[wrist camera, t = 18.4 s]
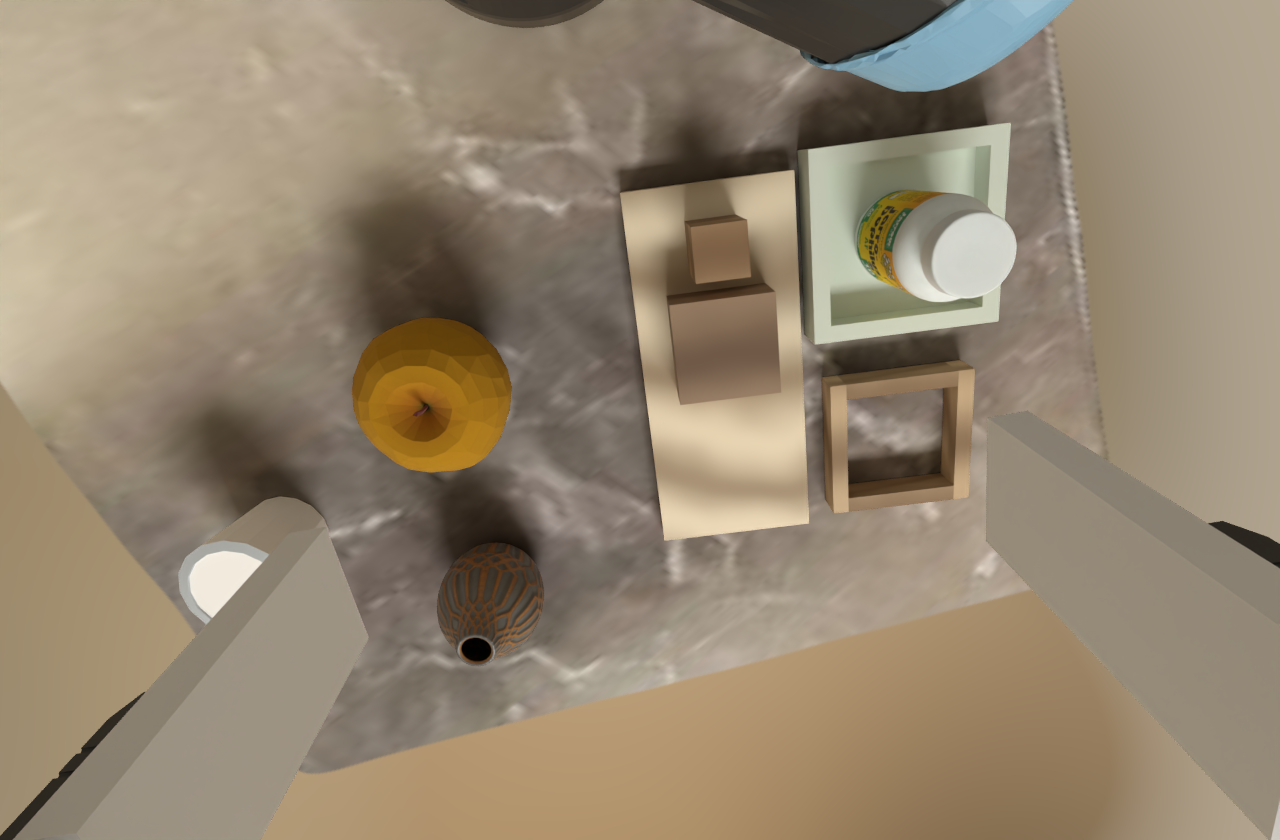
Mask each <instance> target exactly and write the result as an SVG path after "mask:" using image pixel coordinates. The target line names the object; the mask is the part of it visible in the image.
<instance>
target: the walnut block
mask: <svg viewBox="0 0 1280 840" xmlns="http://www.w3.org/2000/svg"><path fill="white" fill-rule="evenodd" d="M666 297H667V306H668V315H669V324H670V333H671V342H672V351H673V360H674V369H675V378H676V387H677V392H678V397H679V401H680V405H686V404H694V403H702V402H710V401H718V400H726V399H734V398H742V397H750V396H758V395H766V394H774V393H781V379H780V361H779V343H778V324H777V306H776V292H775V291H774V290H773V289H772V288H771V287H770V286H768V285H767V284H766V283H761V284H753V285H745V286H738V287H730V288H722V289H714V290H707V291H699V292H691V293H684V294H676V295H668V296H666Z"/></svg>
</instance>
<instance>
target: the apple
mask: <svg viewBox="0 0 1280 840" xmlns="http://www.w3.org/2000/svg"><path fill="white" fill-rule="evenodd" d="M511 392H512V386H511V382H510V378H509V374H508V370H507V368H506V366H505V364H504V362H503V360H502V358H501V357H500V355H499V353H498V351H497V349H496V348H495V347H494V346H493V345H492V344H491V343H490V342H489V341H488V340H487V339H486V338H485V337H484V336H483V335H482V334H481V333H479V332H478V331H476V330H475V329H473V328H472V327H470V326H468V325H465V324H463V323H460V322H458V321H455V320H450V319H443V318H418V319H414V320H411V321H408V322H406V323H403V324H401V325H398V326H396V327H393V328H391V329H389V330H387V331H386V332H384V333H382V334H381V335H379V336H377V337H376V338H374V339H373V340H372V341H371V342H370V344H369V345H368V346H367V348H366V349H365V350H364V352H363V353H362V355H361V358H360V361H359V364H358V366H357V369H356V372H355V374H354V377H353V387H352V396H353V407H354V412H355V415H356V418H357V421H358V424H359V425H360V427H361V429H362V430H363V432H364V433H365V435H366V436H367V437H368V438H369V439H370V441H371V442H372V443H373V444H374V445H375V446H376V447H377V449H379V450H380V451H381V452H383V453H384V454H385V455H386V456H388V457H389V458H390V459H392V460H393V461H394V462H396V463H397V464H399V465H402V466H404V467H406V468H408V469H411V470H417V471H424V472H439V471H454V470H461V469H464V468H468V467H471V466H473V465H475V464H476V463H478V462H479V461H481V460H482V459H483V458H485V457H486V456H487V455H488V454H489V453H490V451H491V450H492V448H493V447H494V446H495V444H496V443H497V441H498V440H499V439H500V437H501V435H502V432H503V429H504V426H505V423H506V420H507V417H508V414H509V411H510V402H511Z"/></svg>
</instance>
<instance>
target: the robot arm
mask: <svg viewBox="0 0 1280 840" xmlns="http://www.w3.org/2000/svg"><path fill="white" fill-rule="evenodd" d="M446 1H447V2H448V3H450V4H451V5H453V6H455V7H456V8H458V9H460V10H461V11H463V12H465V13H467V14H469V15H471V16H474V17H476V18H478V19H481V20H484V21H487V22H490V23H494V24H498V25H502V26H509V27H519V28H534V27H544V26H549V25H554V24H558V23H561V22H565V21H567V20H570V19H573V18H575V17H577V16H579V15H581V14H583V13H585V12H587V11H589V10H590V9H592V8H594V7H595V6H596V5H598V4H599V3H601V2H602V1H603V0H446ZM693 1H695V2H697V3H699V4H701V5H703V6H706V7H708V8H710V9H712V10H714V11H716V12H719V13H721V14H723V15H725V16H727V17H729V18H732V19H734V20H736V21H738V22H740V23H743V24H745V25H747V26H749V27H751V28H753V29H756V30H758V31H760V32H762V33H764V34H766V35H769V36H771V37H773V38H775V39H777V40H779V41H782V42H784V43H786V44H788V45H790V46H793V47H795V48H797V49H799V50H800V53H801V55H802V57H803V58H804V59H806V60H807V61H808V62H810V63H811V64H813V65H815V66H817V67H819V68H823V69H832V70H836V71H847V72H849V73H852V74H854V75H857V76H859V77H862V78H864V79H867V80H869V81H872V82H874V83H877V84H879V85H882V86H884V87H887V88H889V89H893V90H896V91H902V92H908V91H920V92H927V91H931V90H940V89H944V88H947V87H950V86H952V85H955V84H958V83H960V82H963V81H965V80H967V79H969V78H971V77H973V76H975V75H977V74H979V73H981V72H983V71H984V70H986V69H988V68H990V67H991V66H993V65H995V64H996V63H998V62H999V61H1001V60H1002V59H1004V58H1005V57H1007V56H1008V55H1010V54H1011V53H1012V52H1014V51H1015V50H1016V49H1018V48H1019V47H1020V46H1022V45H1023V44H1024V43H1026V42H1027V41H1028V40H1029V39H1031V38H1032V37H1033V36H1034V35H1036V34H1037V33H1038V32H1039V31H1040V30H1041V29H1043V28H1044V27H1045V26H1046V25H1047V24H1048V23H1050V22H1051V21H1052V20H1053V19H1054V18H1055V17H1056V16H1058V15H1059V14H1060V13H1061V12H1062V11H1063V10H1064V9H1065V8H1066V7H1067V6H1068V5H1069V4H1070V3H1071V2H1072V1H1073V0H693ZM986 541H987V542H988V544H989V545H990V546H991V547H992V548H993V549H994V550H995V551H996V552H997V553H998V554H999V555H1000V556H1001V557H1002V558H1003V559H1004V560H1005V562H1006V563H1007V564H1008V565H1009V566H1010V567H1011V568H1012V569H1013V570H1014V571H1015V572H1016V573H1017V574H1018V575H1019V576H1020V577H1021V578H1022V579H1023V581H1024V582H1025V583H1026V584H1027V585H1028V586H1029V587H1030V588H1031V589H1032V590H1033V591H1034V592H1035V593H1036V594H1037V595H1038V596H1039V597H1040V599H1041V600H1043V602H1044V603H1045V604H1046V605H1047V606H1048V607H1049V608H1050V609H1051V610H1052V611H1053V612H1054V613H1055V614H1056V615H1057V617H1059V619H1060V620H1061V621H1062V622H1063V623H1064V624H1065V625H1066V626H1067V627H1068V628H1069V629H1070V630H1071V631H1072V632H1073V633H1074V634H1075V636H1076V637H1077V638H1078V639H1079V640H1080V641H1081V642H1082V643H1083V644H1084V645H1085V646H1086V647H1087V648H1088V649H1089V650H1090V651H1091V652H1092V654H1093V655H1095V657H1096V658H1097V659H1098V660H1099V661H1100V662H1101V663H1102V664H1103V665H1104V666H1105V667H1106V668H1107V669H1108V670H1109V671H1110V673H1111V674H1112V675H1113V676H1114V677H1115V678H1116V679H1117V680H1118V681H1119V682H1120V683H1121V684H1122V685H1123V686H1124V687H1125V688H1126V689H1127V690H1128V692H1129V693H1130V694H1131V695H1132V696H1133V697H1134V698H1135V699H1136V700H1137V701H1138V702H1139V703H1140V704H1141V705H1142V706H1143V707H1144V708H1145V710H1146V711H1147V712H1148V713H1149V714H1150V715H1151V716H1152V717H1153V718H1154V719H1155V720H1156V721H1157V722H1158V723H1159V724H1160V725H1161V726H1162V727H1163V729H1164V730H1165V731H1166V732H1167V733H1168V734H1169V735H1170V736H1171V737H1172V738H1173V739H1174V740H1175V741H1176V742H1177V743H1178V744H1179V746H1180V747H1181V748H1182V749H1183V750H1184V751H1185V752H1186V753H1187V754H1188V755H1189V756H1190V757H1191V758H1192V759H1193V760H1194V761H1195V762H1196V763H1197V764H1198V765H1199V767H1201V769H1202V770H1203V771H1204V772H1205V773H1206V774H1207V775H1208V776H1209V777H1210V778H1211V779H1212V780H1213V781H1214V782H1215V784H1216V785H1217V786H1218V787H1219V788H1220V789H1221V790H1222V791H1223V792H1224V793H1225V794H1226V795H1227V796H1228V797H1229V798H1230V799H1231V800H1232V802H1233V803H1234V804H1235V805H1236V806H1237V807H1238V808H1239V809H1240V810H1241V811H1242V812H1243V813H1244V814H1245V815H1246V816H1247V817H1248V818H1249V820H1250V821H1251V822H1252V823H1253V824H1254V825H1255V826H1256V827H1257V828H1258V829H1259V830H1260V831H1261V832H1262V833H1263V834H1264V835H1265V836H1266V837H1267V838H1268V840H1280V544H1279V543H1277V542H1275V541H1274V540H1272V539H1270V538H1269V537H1266V536H1264V535H1261V534H1258V533H1255V532H1252V531H1249V530H1247V529H1244V528H1241V527H1238V526H1235V525H1232V524H1230V523H1227V522H1224V521H1220V522H1214V523H1206V522H1205V521H1203V520H1201V519H1200V518H1198V517H1196V516H1195V515H1193V514H1192V513H1190V512H1189V511H1187V510H1185V509H1184V508H1182V507H1181V506H1179V505H1177V504H1176V503H1174V502H1173V501H1171V500H1169V499H1168V498H1166V497H1164V496H1163V495H1161V494H1160V493H1158V492H1157V491H1155V490H1153V489H1151V488H1150V487H1149V486H1147V485H1145V484H1143V483H1142V482H1141V481H1139V480H1137V479H1136V478H1134V477H1132V476H1131V475H1129V474H1128V473H1126V472H1124V471H1123V470H1121V469H1120V468H1118V467H1116V466H1115V465H1113V464H1112V463H1110V462H1109V461H1107V460H1105V459H1104V458H1102V457H1101V456H1099V455H1097V454H1096V453H1094V452H1093V451H1091V450H1089V449H1088V448H1086V447H1085V446H1083V445H1081V444H1080V443H1078V442H1077V441H1075V440H1073V439H1072V438H1070V437H1069V436H1067V435H1065V434H1064V433H1062V432H1061V431H1059V430H1057V429H1056V428H1054V427H1053V426H1051V425H1049V424H1048V423H1046V422H1045V421H1043V420H1041V419H1040V418H1038V417H1037V416H1035V415H1033V414H1032V413H1030V412H1029V411H1024V412H1018V413H1012V414H1006V415H1000V416H994V417H988V418H987V485H986ZM368 639H369V637H368V635H367V632H366V629H365V627H364V624H363V622H362V619H361V616H360V614H359V611H358V609H357V606H356V604H355V601H354V598H353V596H352V593H351V591H350V588H349V585H348V583H347V580H346V578H345V575H344V572H343V570H342V567H341V565H340V562H339V559H338V557H337V554H336V552H335V549H334V547H333V544H332V541H331V539H330V536H329V534H328V531H327V528H326V527H322V528H316V529H310V530H304V531H298V532H292V533H289V534H288V535H287V536H286V537H285V538H284V539H283V540H282V541H281V542H280V544H279V545H278V546H277V547H276V548H275V549H274V550H273V551H272V552H271V554H270V555H269V556H268V557H267V558H266V559H265V560H264V561H263V562H262V564H261V565H260V566H259V567H258V568H257V569H256V570H255V571H254V572H253V574H252V575H251V576H250V577H249V578H248V579H247V580H246V581H245V582H244V583H243V585H242V586H241V587H240V588H239V589H238V590H237V591H236V592H235V593H234V595H233V596H232V597H231V598H230V599H229V600H228V601H227V602H226V603H225V605H224V606H223V607H222V608H221V609H220V610H219V611H218V612H217V613H216V615H215V616H214V617H213V618H212V619H211V620H210V621H209V622H208V623H207V625H206V626H205V627H204V628H203V629H202V630H201V631H200V632H199V633H198V635H197V636H196V637H195V638H194V639H193V640H192V641H191V642H190V644H189V645H188V646H187V647H186V648H185V649H184V650H183V651H182V652H181V654H180V655H179V656H178V657H177V658H176V659H175V660H174V661H173V662H172V663H171V665H170V666H169V667H168V668H167V669H166V670H165V671H164V672H163V673H162V675H161V676H160V677H159V678H158V679H157V680H156V681H155V682H154V683H153V685H152V686H151V687H150V688H149V689H148V690H147V691H146V692H144V693H142V694H141V695H139V696H138V697H137V698H135V699H134V700H133V701H132V702H130V703H129V704H128V705H126V706H125V707H124V708H122V709H121V710H120V711H118V712H117V713H116V714H114V715H113V716H112V717H110V718H109V719H108V720H107V721H106V722H105V723H104V724H103V725H102V727H101V728H100V729H99V730H98V731H97V732H96V733H95V734H94V735H93V736H92V737H91V738H90V739H89V741H88V742H87V743H86V744H85V745H84V746H83V747H82V748H81V749H82V752H81V753H80V754H76V755H75V756H74V757H73V758H72V759H71V760H70V761H69V762H68V763H67V764H66V765H65V766H64V768H63V769H62V770H61V771H60V772H59V777H58V778H56V779H52V781H51V782H50V783H49V784H48V785H47V786H46V787H45V788H44V790H42V791H41V793H40V794H39V795H38V796H37V797H36V798H35V799H34V800H33V801H32V802H31V803H30V804H29V806H28V807H27V808H26V809H25V810H24V811H23V812H22V813H21V814H20V815H19V816H18V817H17V818H16V820H15V821H14V822H13V823H12V824H11V825H10V826H9V827H8V828H7V829H6V830H5V831H4V832H3V834H2V835H1V836H0V840H261V838H262V837H263V835H264V833H265V831H266V829H267V827H268V825H269V823H270V821H271V820H272V818H273V816H274V814H275V812H276V810H277V808H278V807H279V805H280V803H281V801H282V799H283V797H284V795H285V794H286V792H287V790H288V788H289V786H290V784H291V782H292V781H293V779H294V777H295V775H296V773H297V771H298V769H299V768H300V766H301V764H302V762H303V760H304V758H305V756H306V754H307V753H308V751H309V749H310V747H311V745H312V743H313V741H314V740H315V738H316V736H317V734H318V732H319V730H320V728H321V727H322V725H323V723H324V721H325V719H326V717H327V715H328V713H329V712H330V710H331V708H332V706H333V704H334V702H335V700H336V699H337V697H338V695H339V693H340V691H341V689H342V687H343V685H344V684H345V682H346V680H347V678H348V676H349V674H350V672H351V671H352V669H353V667H354V665H355V663H356V661H357V659H358V657H359V656H360V654H361V652H362V650H363V648H364V646H365V644H366V643H367V641H368Z"/></svg>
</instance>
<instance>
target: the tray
mask: <svg viewBox="0 0 1280 840" xmlns="http://www.w3.org/2000/svg"><path fill="white" fill-rule="evenodd" d="M1010 128H1011V123H1002V124H993V125H984V126H977V127H969V128H962V129H954V130H947V131H939V132H932V133H924V134H916V135H909V136H901V137H894V138H886V139H879V140H871V141H864V142H856V143H849V144H841V145H834V146H826V147H819V148H811V149H804V150H797V155H798V180H799V205H800V231H801V256H802V281H803V306H804V331H805V335H806V336H807V337H808V338H809V339H810V340H811V341H812V342H813V343H814V344H823V343H831V342H839V341H846V340H854V339H862V338H870V337H878V336H886V335H894V334H902V333H910V332H918V331H926V330H934V329H942V328H949V327H957V326H965V325H973V324H981V323H989V322H997V321H998V318H999V303H1000V287H1001V284H1000V285H999V286H998V287H996V288H995V289H994V290H992V291H990V292H989V293H987V294H985V295H982V296H979V297H975V298H960V299H957V300H953V301H948V302H932V301H927V300H923V299H920V298H918V297H916V296H913V295H911V294H909V293H907V292H904V291H902V290H900V289H898V288H896V287H894V286H891V285H889V284H887V283H884V282H882V281H880V280H878V279H876V278H874V277H873V276H872V275H870V274H869V273H868V272H867V271H866V270H865V268H864V267H863V266H862V264H861V262H860V261H859V259H858V257H857V254H856V250H855V233H856V229H857V226H858V223H859V220H860V218H861V216H862V215H863V214H864V212H865V211H866V210H867V209H868V208H869V206H870V205H871V204H872V203H874V202H875V201H876V200H877V199H879V198H880V197H882V196H884V195H886V194H888V193H890V192H893V191H897V190H920V191H931V192H945V193H957V194H964V195H968V196H971V197H974V198H976V199H978V200H980V201H981V202H983V203H984V204H985V205H986V206H987V207H989V209H990V210H991V211H992V212H993V214H996V215H998V216H1000V217H1001V218H1003V219H1004V220H1005V207H1006V192H1007V176H1008V160H1009V144H1010Z"/></svg>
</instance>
